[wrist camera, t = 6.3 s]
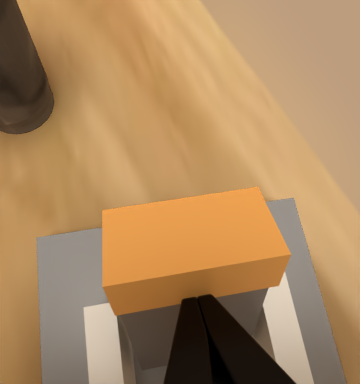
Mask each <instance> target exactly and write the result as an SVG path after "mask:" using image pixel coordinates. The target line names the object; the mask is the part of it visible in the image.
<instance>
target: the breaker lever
mask: <svg viewBox="0 0 360 384" xmlns="http://www.w3.org/2000/svg"><path fill="white" fill-rule="evenodd" d="M290 256H291V253H290V251H289V249H288V247H287V245H286V243H285V241H284V239H283V237H282V235H281V232H280V230H279V228H278V226H277V224H276V222H275V220H274V218H273V216H272V214H271V212H270V210H269V208H268V206H267V204H266V202H265V200H264V198H263V196H262V194H261V192H260V190H259V188H258V187H253V188H247V189H240V190H233V191H227V192H220V193H213V194H207V195H200V196H193V197H187V198H180V199H173V200H167V201H160V202H153V203H147V204H140V205H133V206H127V207H120V208H113V209H107V210H102V287H103V289H104V292H105V294H106V296H107V299H108V301H109V303H110V306H111V308H112V310H113V313H114V315H115V316H117V315H120V317H121V319H122V322H123V324H124V327H125V329H126V332H127V334H128V337H129V339H130V342H131V344H132V346H133V349H134V351H135V354H136V356H137V359H138V361H139V364H140V366H141V369H142V370H146V369H151V368H156V367H161V366H166V365H167V363H168V359H169V354H170V350H171V345H172V341H173V336H174V332H175V327H176V323H177V319H178V314H179V310H180V305H181V301H182V299H184V298H190V297H196V298H197V297H198V296H201V295H207V294H212V295H213V296H214V297H215V298H216V299H217V300H218V301H219V302H220V303H221V304H222V305H223V306H224V307H225V309H226V310H227V311H228V312H229V313H230V314H231V315H232V316H233V317H234V318H235V319H236V320H237V321H238V322H239V323H240V324H241V325H242V327H243V328H244V329H245V330H246V331H247V332H248V333H249V334H250V335H251V336H252V335H253V332H254V329H255V326H256V323H257V320H258V317H259V314H260V312H261V309H262V306H263V303H264V300H265V297H266V294H267V291H268V288H270V287H276V286H279V284H280V282H281V279H282V277H283V274H284V272H285V269H286V266H287V264H288V261H289V259H290Z"/></svg>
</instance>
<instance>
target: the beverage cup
mask: <svg viewBox="0 0 360 384" xmlns="http://www.w3.org/2000/svg"><path fill="white" fill-rule="evenodd" d="M53 104H54V100H53V94H52V92H51V90H50V86H49V84H48V78H47V76H46V73H45V71H44V68H43V66H42V63H41V61H40V58H39V56H38V53H37V51H36V48H35V46H34V43H33V41H32V38H31V36H30V33H29V31H28V28H27V26H26V24H25V21H24V19H23V16H22V14H21V11H20V9H19V6H18V4H17V1H16V0H0V131H3V132H6V133H12V134H21V133H26V132H30V131H32V130H34V129H36V128H38V127H40V126H41V125H42V124H43V123H44V122H45V121H46V120H47V119H48V117H49V116H50V114H51V112H52V109H53Z"/></svg>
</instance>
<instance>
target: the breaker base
mask: <svg viewBox="0 0 360 384" xmlns="http://www.w3.org/2000/svg"><path fill="white" fill-rule="evenodd" d="M266 204H267V206H268V208H269V210H270V212H271V214H272V216H273V218H274V220H275V222H276V224H277V226H278V228H279V230H280V232H281V235H282V237H283V239H284V241H285V243H286V245H287V247H288V249H289V251H290V253H291V256H290V259H289V261H288V264H287V266H286V269H285V272H284V274H283V277H282V279H281V282H280V284H279V286H276V287H270V288H268V291H267V294H266V297H265V300H264V303H263V306H262V309H261V312H260V314H259V317H258V320H257V323H256V326H255V329H254V332H253V335H252V337H253V338H254V339H255V340H256V341H257V342H258V343H259V344H260V346H261V347H262V348H263V349H264V350H265V351H266V352H267V353H268V354H269V355H270V356H271V357H272V358H273V359H274V360H275V361H276V362H277V364H278V365H279V366H280V367H281V368H282V369H283V370H284V371H285V372H286V373H287V374H288V375H289V376H290V377H291V378H292V379H293V380H294V381H295V383H296V384H347V383H346V379H345V376H344V372H343V369H342V365H341V362H340V358H339V355H338V351H337V348H336V344H335V341H334V337H333V334H332V330H331V327H330V323H329V320H328V316H327V313H326V309H325V306H324V302H323V299H322V295H321V292H320V288H319V285H318V281H317V278H316V274H315V271H314V267H313V264H312V260H311V257H310V253H309V250H308V246H307V243H306V239H305V236H304V232H303V229H302V225H301V222H300V218H299V215H298V211H297V208H296V204H295V201H294V198H289V199H282V200H276V201H269V202H266ZM37 263H38V290H39V316H40V343H41V370H42V384H163V381H164V377H165V372H166V368H167V365H166V366H161V367H156V368H151V369H146V370H142V369H141V366H140V364H139V361H138V359H137V356H136V354H135V351H134V349H133V346H132V344H131V342H130V339H129V337H128V334H127V332H126V329H125V327H124V324H123V322H122V319H121V317H120V315H117V316H115V315H114V313H113V310H112V308H111V306H110V303H109V301H108V299H107V296H106V294H105V292H104V289H103V287H102V228H95V229H89V230H82V231H76V232H70V233H63V234H57V235H50V236H44V237H37Z"/></svg>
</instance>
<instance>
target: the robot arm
mask: <svg viewBox="0 0 360 384" xmlns="http://www.w3.org/2000/svg"><path fill="white" fill-rule="evenodd" d="M163 384H296V383H295V381H294V380H293V379H292V378H291V377H290V376H289V375H288V374H287V373H286V372H285V371H284V370H283V369H282V368H281V367H280V366H279V365H278V364H277V362H276V361H275V360H274V359H273V358H272V357H271V356H270V355H269V354H268V353H267V352H266V351H265V350H264V349H263V348H262V347H261V346H260V344H259V343H258V342H257V341H256V340H255V339H254V338H253V337H252V336H251V335H250V334H249V333H248V332H247V331H246V330H245V329H244V328H243V327H242V325H241V324H240V323H239V322H238V321H237V320H236V319H235V318H234V317H233V316H232V315H231V314H230V313H229V312H228V311H227V310H226V309H225V307H224V306H223V305H222V304H221V303H220V302H219V301H218V300H217V299H216V298H215V297H214V296H213V295H212V294H207V295H201V296H198V297H197V298H196V297H190V298H184V299H182V301H181V305H180V310H179V314H178V319H177V323H176V327H175V332H174V336H173V341H172V345H171V350H170V354H169V359H168V363H167V368H166V372H165V377H164V381H163Z"/></svg>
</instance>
